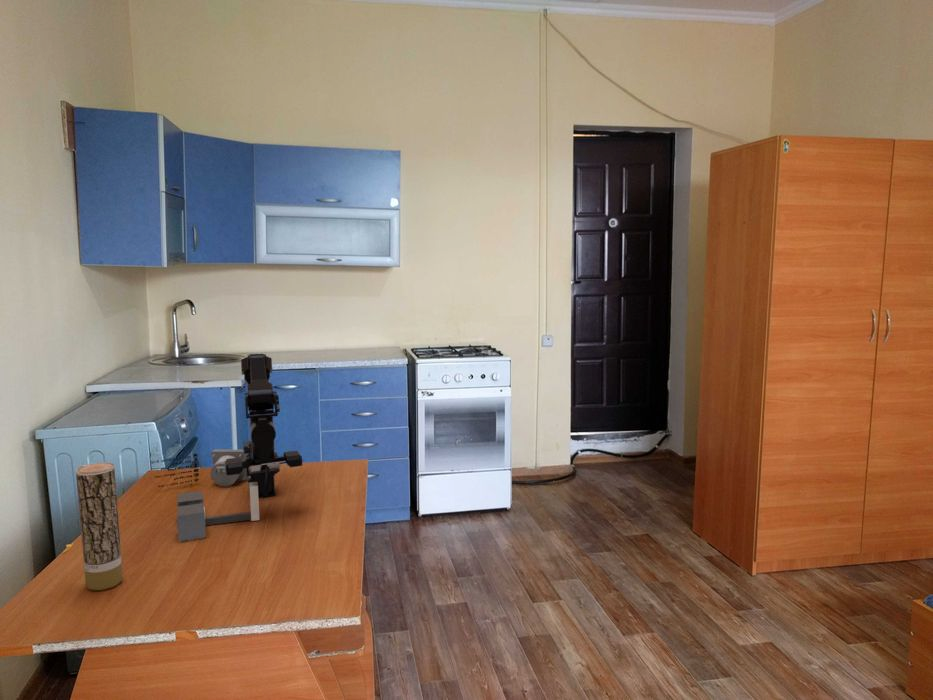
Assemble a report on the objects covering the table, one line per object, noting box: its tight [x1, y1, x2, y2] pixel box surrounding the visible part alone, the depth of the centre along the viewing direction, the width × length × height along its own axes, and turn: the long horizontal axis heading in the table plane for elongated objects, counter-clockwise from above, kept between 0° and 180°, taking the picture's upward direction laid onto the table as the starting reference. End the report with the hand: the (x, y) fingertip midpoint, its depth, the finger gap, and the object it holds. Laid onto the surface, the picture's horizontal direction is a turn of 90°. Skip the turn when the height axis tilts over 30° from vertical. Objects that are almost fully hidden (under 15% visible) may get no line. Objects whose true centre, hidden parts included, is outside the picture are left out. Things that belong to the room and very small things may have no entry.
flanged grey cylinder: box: [150, 448, 250, 488], centre depth 195 cm, size 27×11×10 cm, turn 123°
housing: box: [176, 490, 207, 542], centre depth 166 cm, size 6×16×6 cm, turn 23°
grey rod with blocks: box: [204, 482, 260, 526], centre depth 169 cm, size 17×4×9 cm, turn 109°
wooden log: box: [75, 462, 124, 591], centre depth 136 cm, size 7×7×25 cm
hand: (265, 494), depth 172 cm, fingers closed
